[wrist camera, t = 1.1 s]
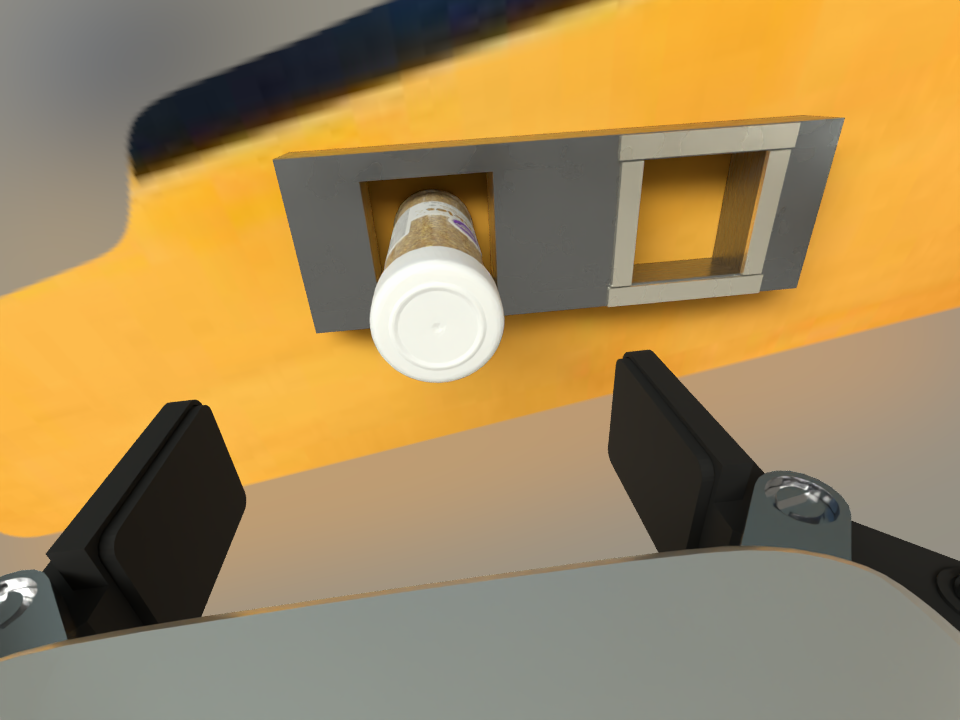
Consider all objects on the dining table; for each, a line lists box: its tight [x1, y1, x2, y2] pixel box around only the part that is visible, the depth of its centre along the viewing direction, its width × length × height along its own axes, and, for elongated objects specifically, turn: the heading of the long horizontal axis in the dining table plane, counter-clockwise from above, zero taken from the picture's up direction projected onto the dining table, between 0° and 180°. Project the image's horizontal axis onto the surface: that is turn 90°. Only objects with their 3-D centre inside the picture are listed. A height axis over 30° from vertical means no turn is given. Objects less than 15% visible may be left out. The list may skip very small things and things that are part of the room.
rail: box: [273, 115, 845, 333], centre depth 26 cm, size 28×9×3 cm, turn 93°
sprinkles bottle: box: [370, 189, 504, 383], centre depth 22 cm, size 5×5×14 cm
